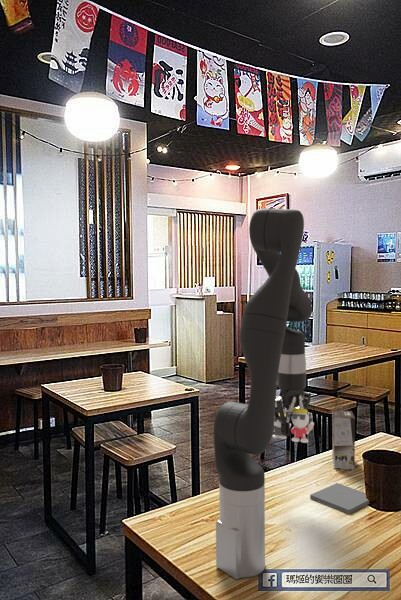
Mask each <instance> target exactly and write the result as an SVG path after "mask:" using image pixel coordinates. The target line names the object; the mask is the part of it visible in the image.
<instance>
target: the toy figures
mask: <svg viewBox="0 0 401 600" xmlns="http://www.w3.org/2000/svg"><path fill="white" fill-rule="evenodd" d="M307 413H308V414H309V410H308V411H307V410H306V409H305V408H304V409H303V408H296V409H294V410H293V413H292V414H291V421H292V423H290V433H291V434H292V435H294V436H293V437H292V438H291V441H292V442H295V443H299V442H301V443H303V444H305V443H306V444H308V443H309V439H308V438H307V436H306V435H309V434H310V432H311V431H312V430H313V429H314V426H315V422H313V421H310V417H309V415H308V414H307ZM279 416H280V414H279ZM284 416H285V417H286V414H285V415H284ZM309 421H310V423H309ZM292 424H293V427H292ZM291 427H292V428H291ZM273 433H274V434H272V437H271V438H274V439H278V438H279V439H284V440H285V439H287V437H288V436H284V435H282V433H281V421H280V420H276V419H275V417H274V427H273Z"/></svg>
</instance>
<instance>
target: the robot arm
mask: <svg viewBox="0 0 401 600" xmlns="http://www.w3.org/2000/svg"><path fill="white" fill-rule="evenodd" d="M304 227H305V219H304V215H303V213H302V212H301V211H300V210H297V209H288V208H286V209H285V208H268V207H267V208H259V209H255V210H254V212H253V213H252V215H251V218H250V221H249V228H248V231H249V232H248V234H249V240H250V243H251V246H252V248H253V250H254V252H255V254H256V256H257V257H258V260H259V261H260V263H261V265H262V267H263V268H264V270H265V272H266V273H267V275H268V278H267V279H266V280H265V281H264V282H263V283H262V285H260V287H259V288H258V289H257V290H256V291H255V292H254V293H253V295H252V296H251V297H250V298H249V299H248V301H247V303H246V304H245V306H244V308H243V312H242V313H243V314H242V316H241V317H242V318H241V324H240V328H239V329H240V330H239V345H240V347H241V352H242V354H243V359H244V360H245V364H246V366H247V369H248V372H249V378H250V379H249V380H250V390H249V391H250V392H249V397H248V398H249V399H248V403H242V402H236V401H227V402H225V403H223V404H222V405H221V406H220V407H219V409H218V410H217V412H216V413H215V417H214V423H213V443H214V460H215V461H214V462H215V468H216V472H217V474H218V482H219V483H218V485H219V486H218V487H219V488H218V489H219V494H218V495H219V496H218V497H219V499H218V500H219V503H218V504H219V519H218V520H216V522H215V558H216V559H215V564H216V568H218V569H219V570H221V571H222V572H224V573H226V574H227V575H228V576H230V577H232V578H233V579H235V580H239V579H241V578H251V577H254V576H255V577H256V576H258V575H259V574H261V573H263V571H264V570H265V568H266V527H265V526H266V524H265V523H266V518H265V517H266V515H265V513H266V511H265V509H266V508H265V507H266V505H265V503H266V501H265V497H266V496H265V492H266V491H265V489H266V488H265V487H266V486H265V483H266V482H265V481H266V480H265V479H266V478H265V470H264V468H263V466H262V465H260V464H259V463H258V462H257V460H255V459H254V458H253V457H252V456H251V455H257V456H258V455H259V456H260V455H261V454H262V453H264V452H266V450H267V449H268V447H269V446H270V443H271V440H272V438H273V437H272V436H273V433H274V432H273V427H274V417H275V419H276V420H280V421H281V433H282V435H284V436H286V437H289V436H290V433H291V427H290V424H291V423H290V420H291V416H292V414H293V410H294V409H296V408H303V409H306V410H307V411H308V413H307V414H309V408H310V402H311V397H312V394H311V393H310V392H307V391H305V390H304V389H306V387H307V361H306V360H307V359H306V338H305V337H306V336H305V333H304V332H303V331H301V330H300V331H299V330H298V329H297V330H296V329H292V328H290V327H288V326H287V323H289V322H291V323H294V322H295V323H303V322H306V321H308V320H309V319H311V316H312V314H313V305H312V301H311V299H310V298H309V296H308V294H307V293H306V291H304V289H303V288H302V284H301V279H300V274H299V272H298V270H297V263H298V259H299V254H300V250H301V248H302V242H303V237H304V230H305V228H304ZM277 387H278V389H279V393H278V397H277ZM279 414H280V416H279ZM284 415H286V417H285V416H284Z"/></svg>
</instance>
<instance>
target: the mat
mask: <svg viewBox="0 0 401 600" xmlns="http://www.w3.org/2000/svg"><path fill="white" fill-rule="evenodd" d="M365 493H366V492H364V491H361V490H358V489H356V488H352V487H349V486H347V485H345V484H341V483H339V482H337V483H334V484H332V485H330V486H327V487H325V488H323V489H320V490H318V491H316V492H313V493H311V494H310V495H309V496H310V497H309V498H310V499H311V500H313V501H315V502H318V503H321V504H323V505H325V506H328V507H331V508H333V509H335V510H338V511H340V512H343V513H346V514H347V515H350V514H351V513H354V512H356V511H358V510H360V509H362V508H363V507H365V506H367V505H369V504H370V503H369V500H368V499H367V498H366V495H365Z"/></svg>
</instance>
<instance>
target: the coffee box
mask: <svg viewBox="0 0 401 600" xmlns="http://www.w3.org/2000/svg"><path fill="white" fill-rule="evenodd" d="M331 414H332V415H331V418H332V419H331V421H332V423H331V426H332V427H331V428H332V431H331V432H332V437H331V438H332V464H334V465H333V469H336V468H340V470H349V469H352V471H354V470H355V463H356V462H355V459H356V458H355V454H356V451H355V448H356V447H355V445H356V444H355V440H356V439H355V438H356V437H355V435H356V433H355V431H356V417H355V414H354V413H353V411H352V410H332V412H331ZM353 469H354V470H353Z"/></svg>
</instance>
